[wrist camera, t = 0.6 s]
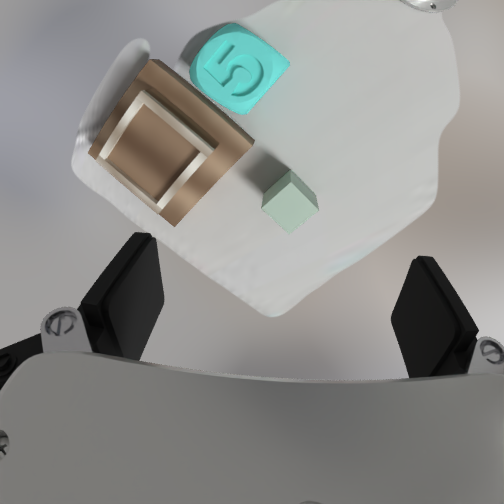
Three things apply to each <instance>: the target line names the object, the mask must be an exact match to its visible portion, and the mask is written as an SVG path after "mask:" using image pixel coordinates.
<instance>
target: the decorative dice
mask: <svg viewBox="0 0 504 504" xmlns="http://www.w3.org/2000/svg"><path fill="white" fill-rule="evenodd" d="M289 66H290V62H289V61H288V60H287V59H286V58H285V57H284V56H282V55H281V54H280V53H279V52H278V51H276V50H275V49H274V48H272V47H271V46H270V45H268V44H267V43H266V42H264V41H263V40H261V39H260V38H259V37H257V36H256V35H254V34H253V33H251V32H250V31H248V30H247V29H245V28H243V27H242V26H240V25H238V24H236V23H232V24H228V25H226V26H224V27H222V28H221V29H220V30H218V31H217V32H216V33H215V34H214V35H213V36H212V37H211V38H210V39H209V40H208V41H207V42H206V43H205V44H204V46H203V47H202V48H201V49H200V51H199V52H198V54H197V55H196V57H195V59H194V60H193V62H192V64H191V67H190V70H189V73H190V79H191V81H192V82H193V84H194V85H195V86H196V87H198V88H199V89H200V90H201V91H202V92H204V93H205V94H206V95H207V96H209V97H210V98H212V99H213V100H215V101H216V102H218V103H219V104H221V105H222V106H224V107H226V108H228V109H229V110H231V111H233V112H235V113H238V114H242V115H243V114H247V113H248V112H249V111H250V110H251V109H252V108H253V106H254V105H255V104H256V103H257V102H258V101H259V100H260V98H261V97H262V96H263V95H264V94H265V93H266V92H267V91H268V89H269V88H270V87H271V86H272V85H273V84H274V83H275V82H276V80H277V79H278V78H279V77H280V76H281V75H282V74H283V73H284V71H285V70H286V69H287V68H288V67H289Z"/></svg>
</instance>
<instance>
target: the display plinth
mask: <svg viewBox="0 0 504 504" xmlns="http://www.w3.org/2000/svg"><path fill="white" fill-rule="evenodd" d="M254 141H255V140H254V139H253V138H252V137H250V136H249V135H248V134H247V133H246V132H245V131H244V130H243V129H242V128H241V127H239V126H238V125H237V124H236V123H235V122H234V121H233V120H232V119H230V118H229V117H228V116H227V115H226V114H225V113H224V112H222V111H221V110H220V109H219V108H218V107H217V106H216V105H214V104H213V103H212V102H211V101H210V100H209V99H207V98H206V97H205V96H204V95H203V94H201V93H200V92H199V91H198V90H197V89H195V88H194V87H193V86H192V85H191V84H189V83H188V82H187V81H186V80H184V79H183V78H182V77H181V76H179V75H178V74H177V73H176V72H174V71H173V70H172V69H171V68H169V67H168V66H167V65H166V64H164V63H163V62H162V61H160V60H156V59H150V60H149V61H148V62H147V63H146V65H145V66H144V67H143V69H142V70H141V71H140V73H139V74H138V75H137V77H136V78H135V79H134V81H133V82H132V84H131V85H130V86H129V88H128V89H127V91H126V92H125V94H124V95H123V96H122V98H121V99H120V101H119V102H118V104H117V105H116V107H115V108H114V110H113V111H112V113H111V115H110V116H109V118H108V119H107V121H106V123H105V124H104V126H103V127H102V129H101V131H100V132H99V134H98V136H97V137H96V139H95V141H94V143H93V144H92V146H91V148H90V150H89V151H88V154H89V155H91V156H92V157H93V158H94V159H95V161H96V162H97V163H98V164H100V165H101V166H102V167H103V168H104V169H105V170H107V171H108V172H109V173H110V174H111V175H112V176H113V177H115V178H116V179H117V180H118V181H119V182H120V183H122V184H123V185H124V186H125V187H126V188H127V189H129V190H130V191H131V192H132V193H133V194H134V195H136V196H137V197H138V198H139V199H140V200H141V201H143V202H144V203H145V204H146V205H147V206H149V207H150V208H151V209H152V210H153V211H154V212H156V213H157V214H159V215H161V216H162V217H163V218H164V219H165V220H167V221H168V222H169V223H170V224H171V225H173V226H174V227H175V226H176V225H177V224H178V223H179V222H180V221H181V220H182V218H183V217H184V216H185V215H186V214H187V213H188V212H189V211H190V210H191V209H192V208H193V206H194V205H195V204H196V203H197V202H198V201H199V200H200V199H201V198H202V197H203V196H204V195H205V194H206V193H207V192H208V191H209V189H210V188H211V187H212V186H213V185H214V184H215V183H216V182H217V181H218V180H219V179H220V178H221V177H222V176H223V175H224V174H225V173H226V172H227V171H228V170H229V169H230V168H231V167H232V166H233V165H234V164H235V163H236V162H237V161H238V160H239V159H240V158H241V157H242V156H243V155H244V154H245V153H246V152H247V151H248V150H249V149H250V148H251V147H252V146H253V144H254Z"/></svg>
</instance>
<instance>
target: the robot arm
mask: <svg viewBox="0 0 504 504" xmlns="http://www.w3.org/2000/svg"><path fill="white" fill-rule="evenodd" d="M400 1H402V2H403V3H405V4H407V5H409V6H411V7H413V8H415V9H418V10H421V11H425V12H442V11H445V10H448V9H450V8H452V7H453V6H454V5H455V4H456V3H457V1H458V0H400ZM431 7H432V8H431ZM163 305H164V291H163V285H162V279H161V272H160V264H159V258H158V249H157V242H156V238H154V237H152V236H151V234H150V233H140V232H135V233H134V234H133V235H132V236H131V237H130V238H129V240H128V241H127V242H126V243H125V245H124V246H123V247H122V248H121V250H120V251H119V252H118V253H117V255H116V256H115V257H114V258H113V260H112V261H111V262H110V263H109V265H108V266H107V267H106V269H105V270H104V271H103V272H102V274H101V275H100V276H99V278H98V279H97V280H96V282H95V283H94V285H93V286H92V287H91V288H90V290H89V291H88V293H87V294H86V296H85V297H84V298H83V300H82V301H81V305H80V306H79V307H78V309H77V310H76V309H75V308H72V307H62V308H58V309H55V310H53V311H52V312H50V313H49V314H47V315H46V317H45V318H44V319H43V321H42V323H41V329H40V330H41V333H40V334H37V335H35V336H32V337H30V338H27V339H25V340H22V341H20V342H17V343H15V344H12V345H10V346H7V347H5V348H3V349H0V504H504V347H503V345H502V344H500V342H498V341H497V340H495V339H493V338H491V337H481V338H480V339H478V340H477V338H476V335H477V333H478V332H479V330H478V328H477V326H476V324H475V322H474V321H473V319H472V317H471V316H470V314H469V312H468V310H467V309H466V307H465V306H464V304H463V302H462V301H461V299H460V297H459V296H458V294H457V292H456V291H455V289H454V288H453V286H452V285H451V283H450V282H449V280H448V279H447V277H446V276H445V274H444V273H443V271H442V270H441V268H440V267H439V265H438V264H437V262H436V261H435V259H434V258H433V257H429V256H418V257H417V258H416V259H413V261H412V263H411V265H410V268H409V271H408V274H407V276H406V279H405V282H404V284H403V287H402V290H401V292H400V295H399V297H398V300H397V302H396V305H395V307H394V310H393V312H392V316H391V323H392V326H393V329H394V332H395V335H396V338H397V341H398V344H399V346H400V349H401V353H402V355H403V359H404V362H405V365H406V368H407V372H408V375H409V378H406V379H386V380H306V379H285V378H270V377H257V376H245V375H235V374H225V373H217V372H208V371H201V370H193V369H187V368H180V367H173V366H167V365H160V364H155V363H148V362H143V361H139V360H140V357H141V355H142V353H143V351H144V348H145V346H146V344H147V341H148V339H149V337H150V334H151V332H152V330H153V327H154V325H155V323H156V321H157V318H158V316H159V314H160V312H161V309H162V307H163Z"/></svg>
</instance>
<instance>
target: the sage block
mask: <svg viewBox="0 0 504 504" xmlns="http://www.w3.org/2000/svg"><path fill="white" fill-rule="evenodd" d="M261 209H262V210H263V211H264V212H266V213H267V214H268V215H269V216H270V217H271V218H272V219H273V220H274V221H275V222H276V223H277V224H279V225H280V226H281V227H282V228H283V229H284V230H285V231H286V232H287V233H288V234H290V233H292V232H293V231H294V230H295V229H297V228H298V227H299V226H300V225H302V224H303V223H304V222H305V221H307V220H308V219H309V218H310V217H311V216H313V215H314V214H315V213H316V212H318V211H319V208H318V203H317V198H316V195H315V194H314V193H313V192H312V191H311V190H310V189H309V188H308V186H307V185H306V184H305V183H304V182H303V181H302V180H301V179H300V178H299V177H298V176H297V175H296V174H295V173H294V172H293V171H292V170H291V169H290V170H289V171H288V172H287V173H286V174H285V175H284V176H283V177H282V178H280V179H279V180H278V181H277V182H276V183H275V184H274V185H273V186H272V187H270V188H269V189H268V190H267V191H266V192H265V193H264V196H263V201H262V207H261Z"/></svg>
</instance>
